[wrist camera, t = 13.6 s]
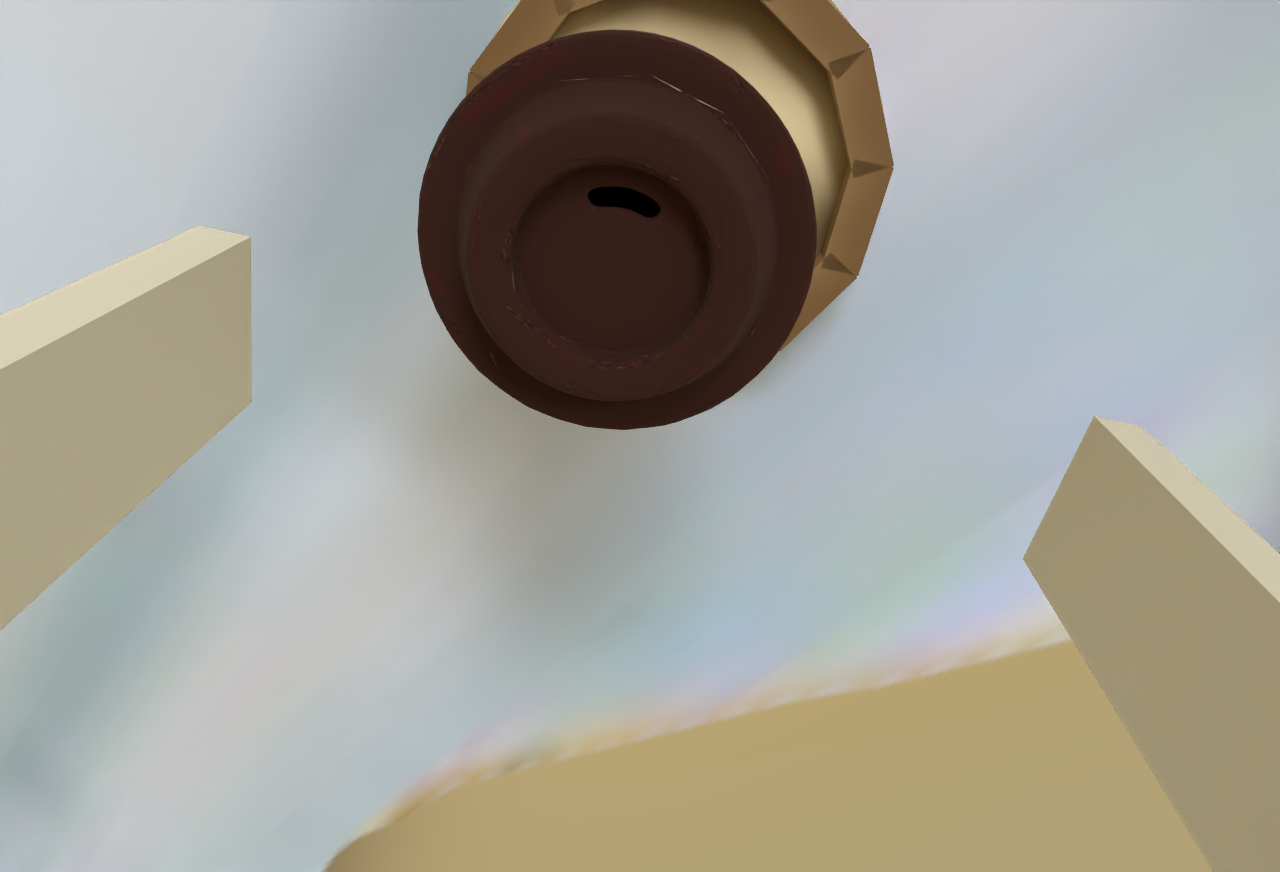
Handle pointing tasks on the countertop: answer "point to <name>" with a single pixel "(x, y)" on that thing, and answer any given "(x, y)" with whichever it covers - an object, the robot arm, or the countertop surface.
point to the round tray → (785, 77)
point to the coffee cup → (617, 229)
